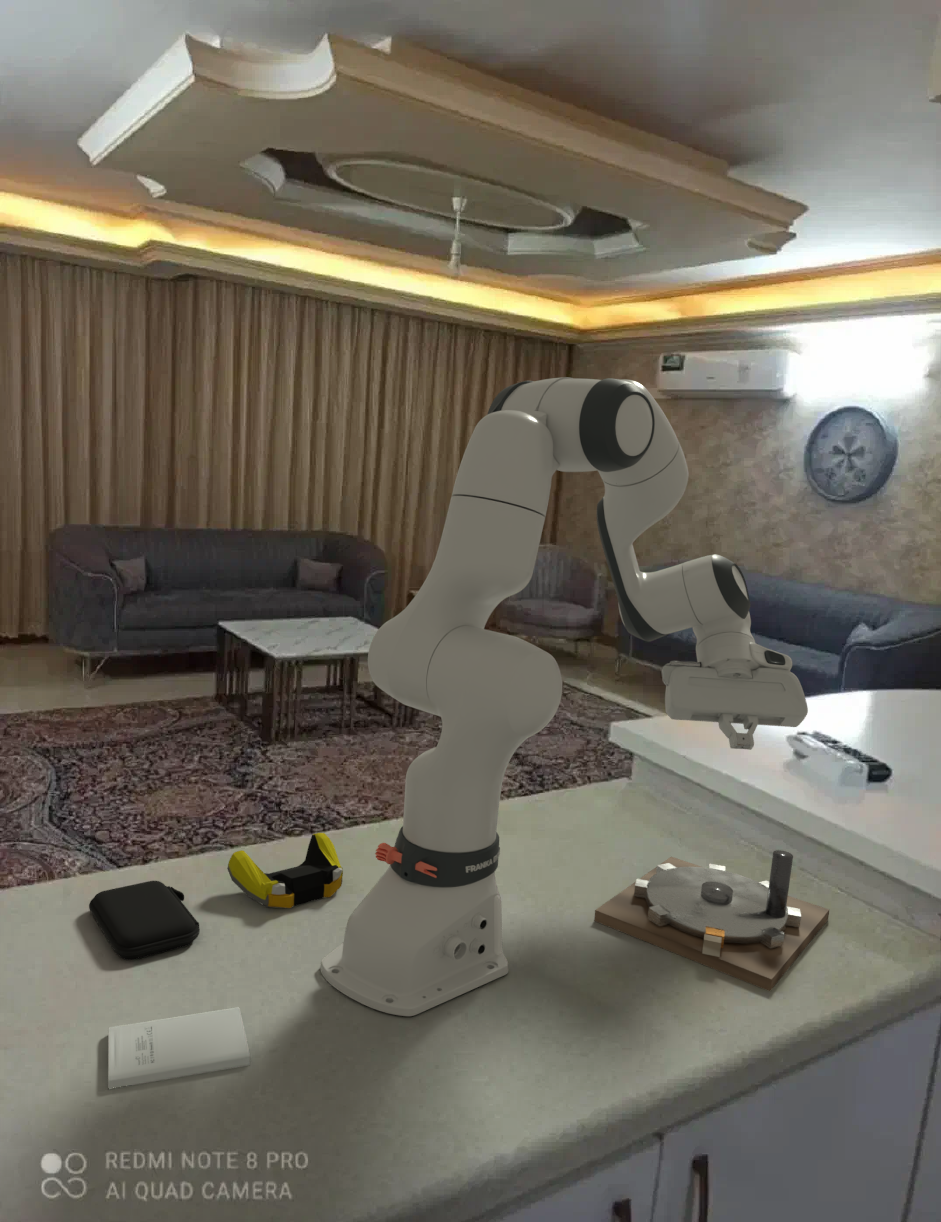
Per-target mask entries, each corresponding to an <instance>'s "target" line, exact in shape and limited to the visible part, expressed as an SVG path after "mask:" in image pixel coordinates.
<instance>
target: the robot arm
mask: <svg viewBox="0 0 941 1222" xmlns="http://www.w3.org/2000/svg"><path fill="white" fill-rule="evenodd" d="M688 467H689V466H688V463H687V459H686V456H685V453H684V450H683V447H682V446H681V443H680V441H679V439H678V437H677V435H676V432H675V430H674V428H673V426H672V425H671V423H670V421H669V419H668V418H667V416H666V414H665V413H664V411H663V409H662V407H661V406H660V404H659V403H658V402H657V400H655V398H654V396H653V395H652V393H650V391H649V390H648V389H647V387H645V386H644V385H643V384H641V383H640V382H638V381H636V380H632V379H627V378H626V379H619V378H603V379H596V378H595V379H593V378H575V377H574V378H573V377H567V376H563V377H553V378H552V377H551V378H546V379H541V380H540V379H539V380H536V381H533V380H524V381H523V380H522V381H520V382H517V383H514V384H510V385H509V386H506V387H505V388H503V389H502V390H500V392H498V394H497V395H496V396H495V398H494V399H493V400H492V403H490V406H489V408H488V410H487V414H486V415H485V416H484V417H482V418H481V419H480V420H479V421H478V422H477V424H476V426H474V429H473V432H472V433H471V435H470V438H469V440H468V443H467V446H466V448H465V450H464V452H463V456H462V459H461V462H460V464H459V467H458V470H457V474H456V478H455V480H454V481H455V482H454V485H453V489H452V494H451V497H450V501H449V505H448V509H447V512H446V513H447V514H446V517H445V522H444V525H443V530H442V534H441V537H440V540H439V541H440V542H439V544H438V548H437V552H436V555H435V559H434V561H433V563H432V566H431V567H430V568H431V569H430V571H429V572H428V574H427V576H426V579H425V580H424V582H423V584H422V585H421V586H420V588H419V590H418V592H417V593H416V594H415V596H414V597H413V598H412V599H411V601H410V602H409V603H408V605H407V606H406V607H405V608H404V609H403V610H402V611H401V612H399V613H398V614H397V615H395V616H394V617H392V618H391V619H389V620H387V621H386V622H384V623H383V624H382V625H381V626H380V627H379V629H377V631H376V632H375V634H374V635H373V638H372V640H371V642H370V645H369V648H368V653H367V654H368V655H367V667H368V673H369V676H370V677H371V680H372V681H373V683H374V685H375V686H376V687H377V688H378V689H380V690H381V691H383V692H384V693H385V694H387V695H388V696H390V697H391V698H393V699H394V700H396V701H398V702H399V703H401V704H402V705H404V706H407V707H410V708H413V709H416V710H419V711H422V712H426V713H428V714H432V715H433V716H437V717H439V718H441V724H442V725H441V732H440V736H439V739H438V743H437V745H436V747H432V748H430V749H427V750H425V751H423V753H421V754H419V755H418V756H416V758H415V759H414V760H413V761H412V762H411V763H410V764H409V766H408V767H407V770H406V775H405V785H404V800H403V801H404V805H403V816H402V818H403V819H402V820H403V822H402V826H400V829H399V832H398V833H397V837H396V839H395V842H394V846H391V845H390V844H388V843H387V842H381V843H379V844H378V846H377V848H376V849H375V853H374V855H375V859H376V860H378V861H380V862H385V863H386V864H387V865H389V866H388V868H387V869H386V871H385V872H384V873H383V874H382V876H380V878H379V879H378V880H377V882H376V883H374V885H373V887H371V889H370V891H368V893H367V894H366V895H365V897H364V898H363V899H362V900H361V901H360V903H359V904H358V905H357V907H356V908H355V909H354V910H353V911H352V913H351V914H350V915H349V917H348V919H347V923H346V927H345V931H344V935H343V937H344V938H343V942H341V943H340V944H339V945H337V946H336V948H334V949H332V951H330V952H329V953H328V954H326V955H325V956H324V957H323V958H322V959H321V961H320V966H319V970H320V973H321V974H322V976H323V978H324V979H325V980H326V981H327V982H328V983H329V984H330V985H331V986H332V987H333V988H335V989H336V990H338V991H339V992H341V994H343V995H345V996H347V997H348V998H350V999H352V1000H354V1001H356V1002H358V1003H359V1004H362V1005H364V1006H367V1007H369V1008H371V1009H374V1010H376V1011H380V1012H381V1013H382V1012H383V1013H386V1014H390V1015H394V1016H395V1015H396V1016H401V1017H402V1016H403V1017H412V1016H416V1015H419V1014H421V1013H423V1012H425V1011H427V1010H430V1009H432V1008H435V1007H436V1006H438V1005H441V1004H443V1003H445V1002H448V1001H450V1000H453V999H454V998H456V997H459V996H461V995H463V994H466V993H468V992H470V991H471V990H474V989H476V988H478V987H481V986H483V985H485V984H488V983H490V982H492V981H495V980H497V979H499V978H501V977H503V976H506V975H507V974H508V973H509V961H508V958H507V957H506V956H505V954H504V952H503V914H502V913H503V912H502V898H501V895H500V892H499V888H498V884H497V880H496V871H497V868H498V867H499V857H500V854H501V853H500V852H501V847H500V836H499V833H498V822H499V821H498V819H499V809H500V801H501V793H502V786H503V781H504V777H505V774H506V770H507V767H508V765H509V763H510V761H511V758H513V755H514V753H515V752H516V751H517V750H518V749H519V747H520V746H521V745H522V744H523V743H524V742H525V741H527V739H529V738H530V737H533V736H534V735H536V734H538V733H540V731H542V730H543V729H545V727H546V726H548V724H549V723H550V722H552V720H553V718H554V716H555V715H556V713H557V711H558V710H559V707H560V704H561V699H562V695H563V678H562V672H561V670H560V667H559V664H558V662H557V661H556V659H555V657H554V656H553V655H552V654H550V653H549V652H547V651H546V650H544V649H543V648H540V647H538V646H536V645H535V644H533V643H530V642H529V641H526V640H525V639H522V638H520V637H518V636H515V635H512V634H511V635H510V634H507V633H502V632H497V631H493V630H490V629H486V628H485V627H486V624H487V622H488V620H489V618H490V617H491V614H492V613H493V612H494V610H495V609H496V607H498V605H499V604H500V603H501V602H502V601H503V600H505V599H507V598H509V597H511V596H514V595H516V594H518V593H520V592H521V591H523V590H524V589H525V588H526V587H527V586H528V585H529V583H530V581H531V580H532V577H533V573H534V570H535V564H536V561H537V558H538V557H537V556H538V552H539V546H540V542H541V538H542V534H543V533H542V532H543V530H544V529H543V528H544V525H545V521H546V516H547V512H548V508H549V507H548V505H549V501H550V500H549V499H550V494H551V487H552V480H553V479H552V478H553V475H554V474H555V472H556V471H558V472H559V471H560V472H564V473H582V472H583V473H585V472H594V471H597V473H599V476H600V478H601V480H602V482H603V485H604V495H603V497H602V498H601V499H600V500H599V501H598V502H597V505H596V524H597V530H598V534H599V539H600V543H601V547H602V551H603V553H604V557H605V560H606V564H607V566H608V570H609V573H610V577H611V580H612V584H613V587H614V590H615V594H616V597H617V598H616V599H617V601H618V602H617V604H618V610H619V616H620V619H621V621H622V623H623V626H624V628H625V629H626V631H627V632H628V634H630V635H632V636H634V637H635V638H638V639H640V640H642V641H645V642H648V643H649V642H653V641H655V640H657V639H661V638H662V637H666V636H668V635H670V634H672V633H677V632H679V631H680V632H681V631H684V630H688V629H692V631H693V633H694V636H695V637H696V644H695V653H696V654H695V655H696V661H680V660H671V661H669V663H668V662H667V663H665V664H664V665H663V666H662V667H661V671H660V672H661V677H662V678H661V679H662V683H663V684H664V685H665V693H664V694H665V695H664V709H665V713H666V715H667V716H668V717H669V719H671V720H676V721H691V722H692V721H693V722H706V723H707V722H708V723H709V722H710V723H718V727H719V730H720V731H721V732H722V733H723V734H724V735H725V737H726V738H727V739H728V743H729V747H730V749H736V750H737V749H739V750H752V749H753V748H754V746H755V740H754V733H755V731H756V729H757V727H758V726H768V727H769V726H770V727H771V726H774V727H785V728H786V727H788V728H797V727H799V726H800V725H801V723H802V722H803V721H804V720H805V719H806V717H807V715H808V711H809V709H808V708H809V707H808V704H807V698H806V696H805V693H804V690H803V687H802V685H801V682H800V680H799V678H798V677H797V675H795V673H793V672H791V669H792V667H793V660H792V658H791V656H789V655H787V654H785V653H781V652H778V651H775V650H773V649H771V648H770V649H769V648H767V647H765V646H762V645H761V644H758V643H756V640H755V638H754V636H753V635H752V633H751V625H752V619H751V615H750V609H751V608H750V607H751V599H750V596H749V590H748V586H747V583H746V579H745V576H744V574H743V571H742V570H741V568H740V567H739V566H738V564H737V563H735V562H734V561H732V560H730V559H729V558H727V557H725V556H722V555H720V554H717V553H715V554H710V555H709V554H708V555H706V556H701V557H698V558H694V559H691V560H688V561H685V562H682V563H680V564H676V565H673V566H670V567H667V568H663V569H659V570H657V571H651V572H650V571H649V572H644V571H641V570H640V567H639V562H638V560H637V556H636V552H635V549H634V548H635V547H634V545H633V543H634V542H635V541H636V540H637V539H638V537H640V536H641V535H642V534H643V533H645V531H646V530H648V529H649V528H651V527H652V526H653V525H655V524H657V523H658V522H659V521H661V520H663V519H664V518H665V517H667V516H668V515H669V514H670V513H671V512H672V511H673V510H674V508H676V506H677V505H678V504H679V502H680V501H681V499H682V498H683V496H684V493H685V492H686V490H687V486H688V483H689V476H690V475H689V474H690V473H689V468H688ZM732 724H738V725H739V724H740V725H741V724H742V725H743V728H744V730H746V731H747V732H744V733H743V732H737V730H736V729H735V727H734V726H733V725H732Z"/></svg>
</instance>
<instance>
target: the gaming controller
mask: <svg viewBox="0 0 941 1222" xmlns="http://www.w3.org/2000/svg"><path fill="white" fill-rule="evenodd" d="M308 843H309V844H308V847H307V850H306V854H305V859H304V861H303V862H302V863H300V864H299V865H297V866H294V867H293V866H292V867H290V868H286V869H282V870H278V871H273V872H270V873H267V872H266V873H265V872H264V871H262V869H261V868H260V867H259V866H258V864H256V863H255V862H254V861H253V859H252V858H251V856H250V855H249V854H248V853H247V852H246V851H245V850H238V851H234V852H233V853H232V855H231V856H230V858H229V860H228V864H227V868H226V869H227V872H228V873H229V876H230V879H231V881H232V882H233V884H235V885H236V886H237V887H238V888H239V889H240V890H241V891H242V892H243V893H244V895H246V896H247V897H249V898H251V899H253V901H255V902H257V903H259V904H260V905H262V906H263V907H266V908H268V909H271V908H275V909H276V908H277V909H286V908H287V909H291V908H293V907H297V906H300V905H304V904H308V903H310V902H314V901H318V900H322V899H324V898H331V897H332V896H333V895H334V894H335V893H337V891H338V890H339V889H340V888H341V887H342V884H343V875H344V869H343V867H342V865H341V863H340V860H339V856H338V854H337V851H336V848H335V845H334V842H332V840H331V838H330V837H329V836H328V835H327V834H326V833H325V832H317V833H313V834H312V835H311V837H310V839H309V842H308Z"/></svg>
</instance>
